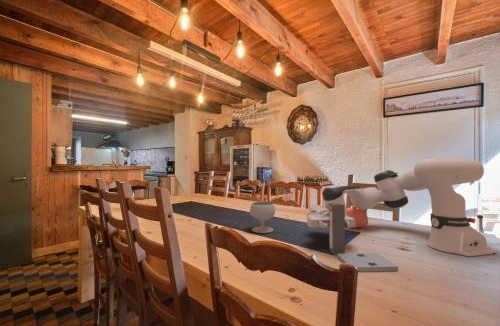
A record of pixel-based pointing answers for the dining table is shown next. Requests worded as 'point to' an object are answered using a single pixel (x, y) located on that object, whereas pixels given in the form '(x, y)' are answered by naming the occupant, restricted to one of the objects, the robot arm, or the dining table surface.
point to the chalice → (262, 215)
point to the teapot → (358, 216)
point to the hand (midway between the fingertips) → (337, 226)
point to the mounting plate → (367, 262)
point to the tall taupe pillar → (336, 228)
